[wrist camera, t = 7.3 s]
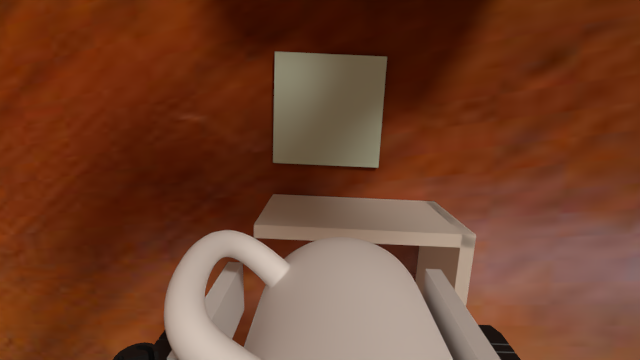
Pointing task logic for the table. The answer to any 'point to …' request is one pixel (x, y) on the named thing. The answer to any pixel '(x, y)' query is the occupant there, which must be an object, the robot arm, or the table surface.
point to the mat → (328, 109)
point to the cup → (305, 304)
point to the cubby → (377, 229)
